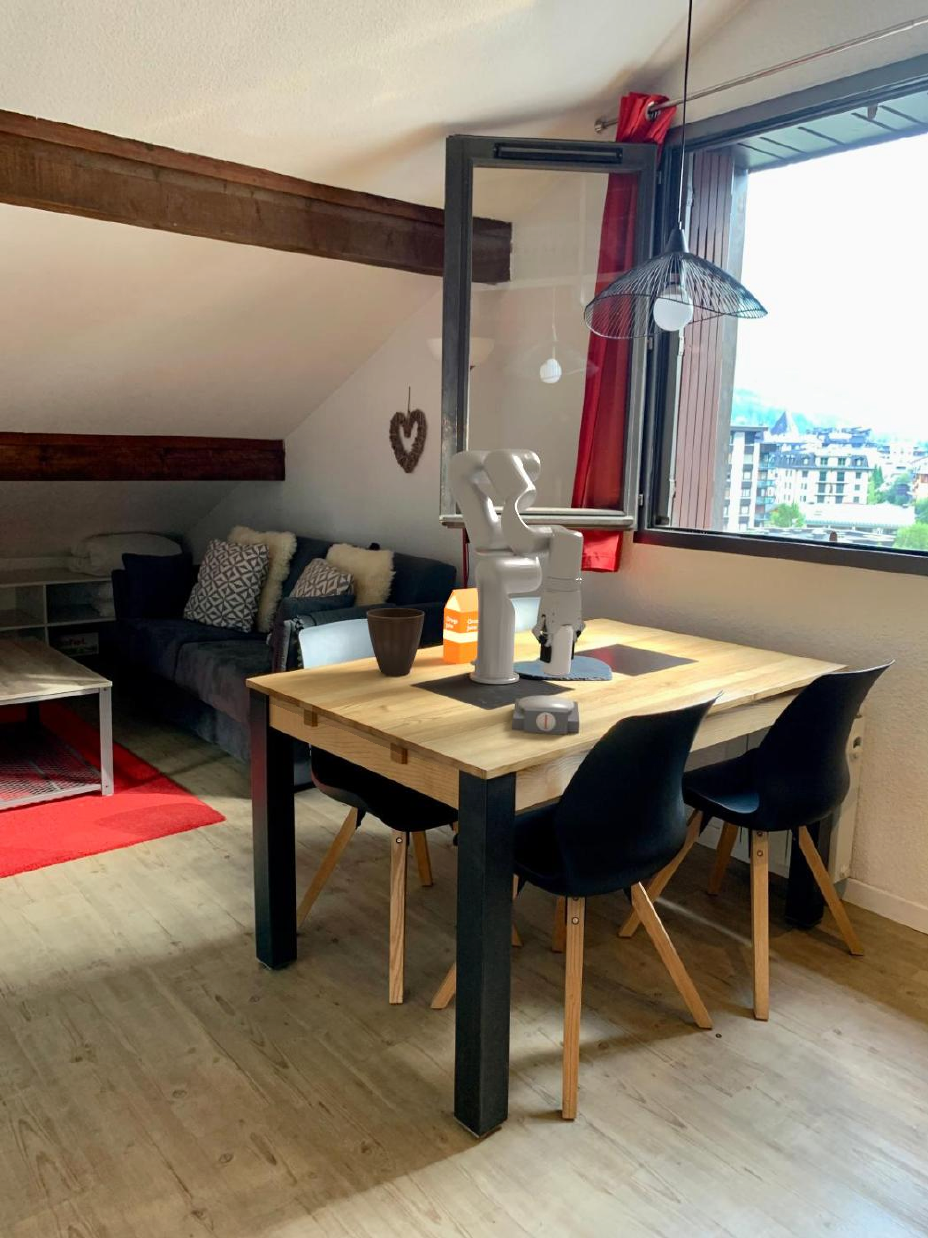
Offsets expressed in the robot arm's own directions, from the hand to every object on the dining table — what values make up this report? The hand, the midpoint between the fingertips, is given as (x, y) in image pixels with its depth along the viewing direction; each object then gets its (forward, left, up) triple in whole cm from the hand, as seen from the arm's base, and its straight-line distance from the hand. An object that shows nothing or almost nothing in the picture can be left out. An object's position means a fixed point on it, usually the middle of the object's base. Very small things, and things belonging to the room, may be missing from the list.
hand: (556, 659), depth 220 cm
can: (0, 0, -3) cm, 3 cm away
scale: (+11, -12, -11) cm, 19 cm away
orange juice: (-48, +8, -11) cm, 49 cm away
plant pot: (-44, -17, -11) cm, 48 cm away
